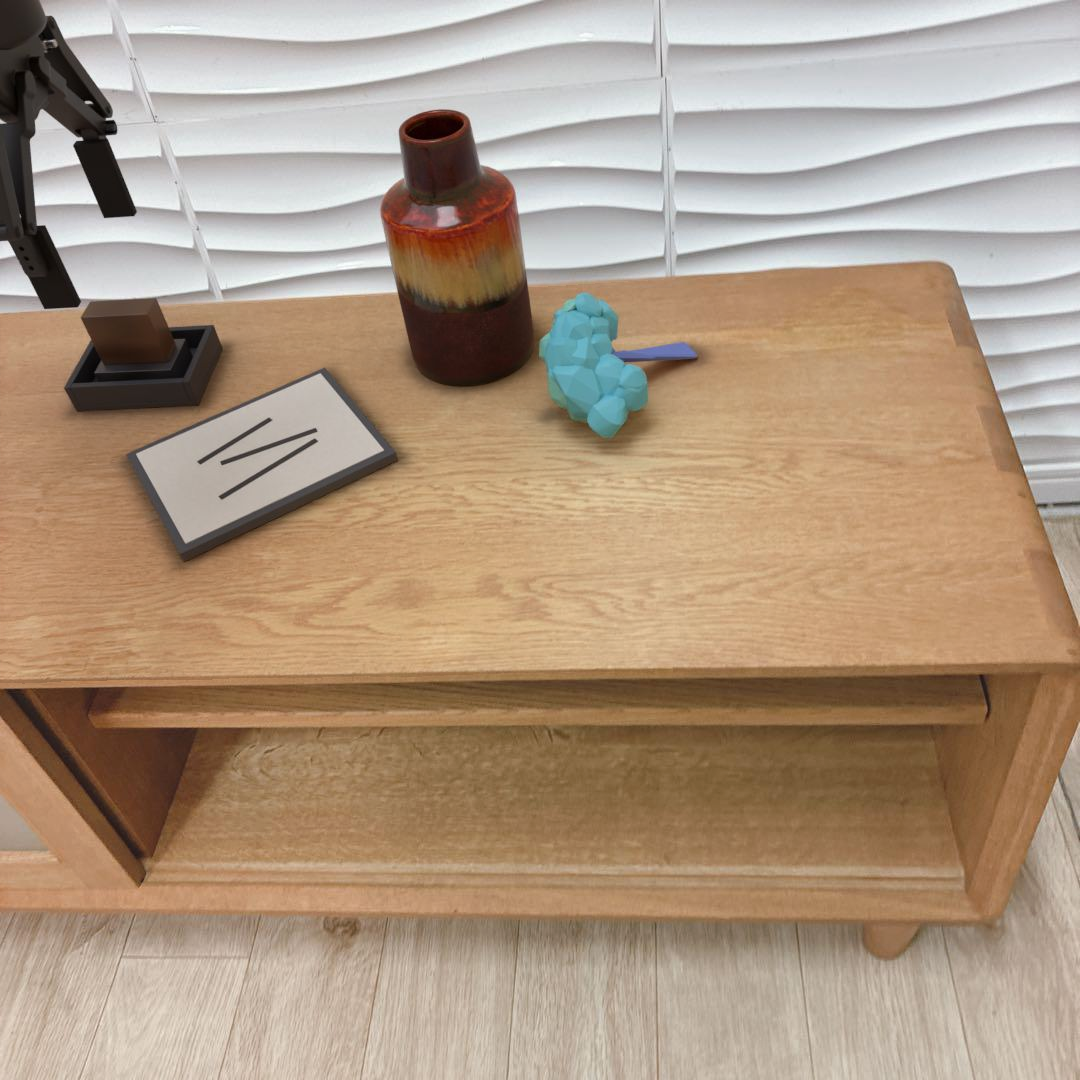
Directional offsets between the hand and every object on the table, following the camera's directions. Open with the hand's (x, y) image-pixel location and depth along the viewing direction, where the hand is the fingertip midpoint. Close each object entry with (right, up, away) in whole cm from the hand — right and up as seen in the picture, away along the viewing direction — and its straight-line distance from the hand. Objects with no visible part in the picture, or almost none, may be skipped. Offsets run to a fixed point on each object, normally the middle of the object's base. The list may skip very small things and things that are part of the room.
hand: (93, 258), depth 87 cm
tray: (+1, -8, +9) cm, 13 cm away
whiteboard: (+14, -16, 0) cm, 21 cm away
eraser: (+1, -8, +9) cm, 12 cm away
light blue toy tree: (+42, -12, 0) cm, 44 cm away
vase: (+30, -6, +7) cm, 32 cm away
